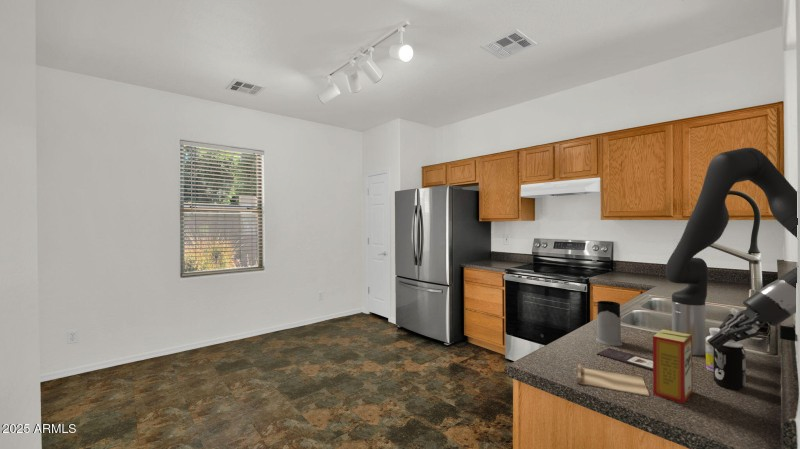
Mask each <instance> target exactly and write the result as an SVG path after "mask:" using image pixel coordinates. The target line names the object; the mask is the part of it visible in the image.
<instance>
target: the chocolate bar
mask: <svg viewBox="0 0 800 449" xmlns="http://www.w3.org/2000/svg"><path fill="white" fill-rule="evenodd" d="M596 355H597V356H599V355H600V356H599V357H602V356H603V357H602V358H605V357H607V358H606V359H609V358H610V359H609V360H612V359H613V361H617V362H620V363H623V364H626V365H629V366H633V367H636V368H641V369H644V370H648V371H651V372H653V358H652V359H651V358H649V357H644V356H640V355H636V354H633V353H629V352H626V351H622V350H617V349H614V348H610V347H608V348H606V349H603V350H601V351H599V352H597V353H596Z"/></svg>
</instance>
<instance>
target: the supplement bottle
mask: <svg viewBox="0 0 800 449" xmlns="http://www.w3.org/2000/svg"><path fill="white" fill-rule="evenodd" d="M719 330H720V329H719V327H709V333H710V335H708V336H706V354H705V367H706V370H708V371H709V372H712V373H714V357H713V346H711V345H710V344H709V343H708V342H707V340H708V339H710V338H711V337H713V336H714V335H716V334H717V333H720V332H719ZM729 341H730V340H729Z"/></svg>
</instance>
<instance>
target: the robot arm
mask: <svg viewBox="0 0 800 449" xmlns="http://www.w3.org/2000/svg"><path fill="white" fill-rule="evenodd" d="M746 181H749V182H751V183H752V184H754V185H756V186H757V187H758V188H760V189H761V191H762V192H763V193H764V194H765V197H766V198H767V199H766V200H767V203H768V205H769V206H768V207H769V210H770V212H771V214H772V215H773V218H774V219H775V220H776V221H777V222H778V223H779V224H780V225H782V226H783V228H785V229H786V231H788V232H789V233H790V234H792V236H794V237H795V238H796V239H798V238H797V225H798V218H797V192H798V191H797V190H796V188H795V187H793V185H792V184H791V183H790V182H789V181H788V180H787V179H786V177H785V176H784V175H783V173H781V172H780V170H778V168H777V167H776V166H775V165H774V163H773V162H772V161H771V160H770V159H769V158H768V157H767V155H766V154H765V153H763V152H762V151H760V149H757V148H756V147H755V148H754V147H741V148H736V149H733V150H729V151H728V150H727V151H722V152H720V153H718V154H716V155H714V156H713V158H712V159H711V160H710V162H709V164H708V167H707V170H706V174H705V177H704V181H703V183H702V186H701V187H702V188H701V190H700V193H699V195H698V198H697V200H696V203H695V206H694V209H693V210H692V212H691V214H690V216H689V219H688V221H687V222H686V225H685V228H684V230H683V233H682V235H681V237H680V240H679V242H678V243H677V245H676V247H675V249H674V250H673V252H672V253H671V255H670V257H669V258H668V261H667V262H666V266H665V271H664V272H665V277H666V278H667V280H668V281H670V282H671V283H674V284H683V285H684V284H685V285H686V284H687V286H686V287H685V288H684V289H683V288H682V289H681V290H678V291H675V292H673V293H672V295H671V331H676V332H682V333H687V334H692V356H704V355H705V356H706V337H707V336H706V301H707V300H706V299H707V295H708V283H709V282H708V281H709V280H708V278H709V269H708V265H707V263H706V261H705V260H704V259H703V258H700V257H695V256H696V255H697V254H699V253H700V252H702V251H704V250H706V249H707V248H709V247H710V246H712V245H713V244H714V243H716V242H717V241H718V240H720V238H721V237H722V236H723V234H724V233H725V232H724V231H725V229H726V228H727V226H728V223H729V221H730V215H729V214H730V213H729V211H728V207H727V205H726V200H727V197H728V196H729V193H730V191H731V189H732V188H733V186H735V184H736V183H742V182H746ZM797 267H798V266H796V267H794V268H792V269H791V270H790V271H788V272H786V273H785V274H784V275H782V276H781V277H779V278H778V279H776V280H774V281H772V282H770V283H769V284H766V285H764V286H763V287H762V288H761V289H760V290H758V291H756V292H754V293H753V294H752V295H751V296H749V297H747V298H746V299H745V300H743V301H742V303H743V306H745V307H746V309H744V310H742V311H739V312H737V313H735V314H733V313H730V314H728V315H727V316H726V317H725V319H724V320H723V321H722V323H721V324H720V325H719V327H718V328H719V329H720V330H719V332H720V333H717V334H716V335H714V336H713V337H711V338H710V339H708V340H707V342H708V343H709V344H710V345H711V346H713V347H714V348H715V349H717V348H719V347H720V346H722V345H724V344H725V343H727V342H728V341H729V340H730V341H734V342H741V341H743V340H747V339H751V338H754V337H757V336H759V335H760V332H759V331H758V330H759V329H760V328H761V327H763V326H764V325H765V324H768V325H769V326H772V327H776V326H778V325H779V324H781V323H783V322H784V321H786V320H787V319H789V318H790V317H792V316H793V315H795V314H797V313H796V283H797Z"/></svg>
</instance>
